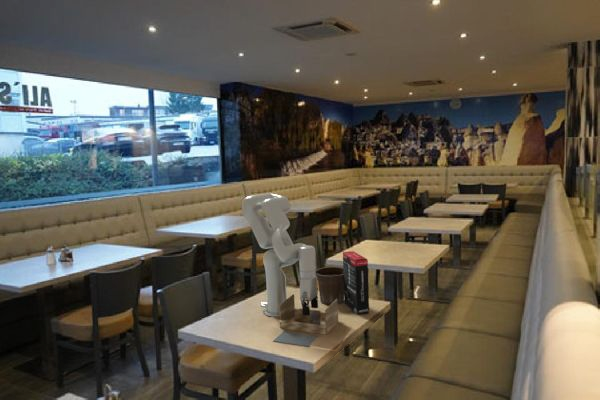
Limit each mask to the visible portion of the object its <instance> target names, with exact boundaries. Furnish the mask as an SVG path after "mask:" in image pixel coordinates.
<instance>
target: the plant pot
mask: <svg viewBox="0 0 600 400" xmlns="http://www.w3.org/2000/svg"><path fill="white" fill-rule="evenodd" d="M316 270H317V277H316V280H317V286H318V291H319V300H320V303H321V304H323V305H327V306H330V305H331V304H332V303H333V302H334V301H335V300H336V299H338V305H340V304H342V303H345V299H344V273H343V267H338V266H326V267H321V268H318V269H316Z"/></svg>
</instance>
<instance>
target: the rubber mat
mask: <svg viewBox="0 0 600 400" xmlns="http://www.w3.org/2000/svg"><path fill="white" fill-rule="evenodd" d="M317 338H318V335H311V334H304V333H297V332H290V331H281V333H280V334H279V335H278V336H276V337H275V338H274V339H273V340H272V342H273V343H274V342H275V343H281V344H285V345H287V344H288V345H293V346H299V347H304V348H310V346H311V344H312V343H313V342H314V341H315V340H316V339H317Z"/></svg>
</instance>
